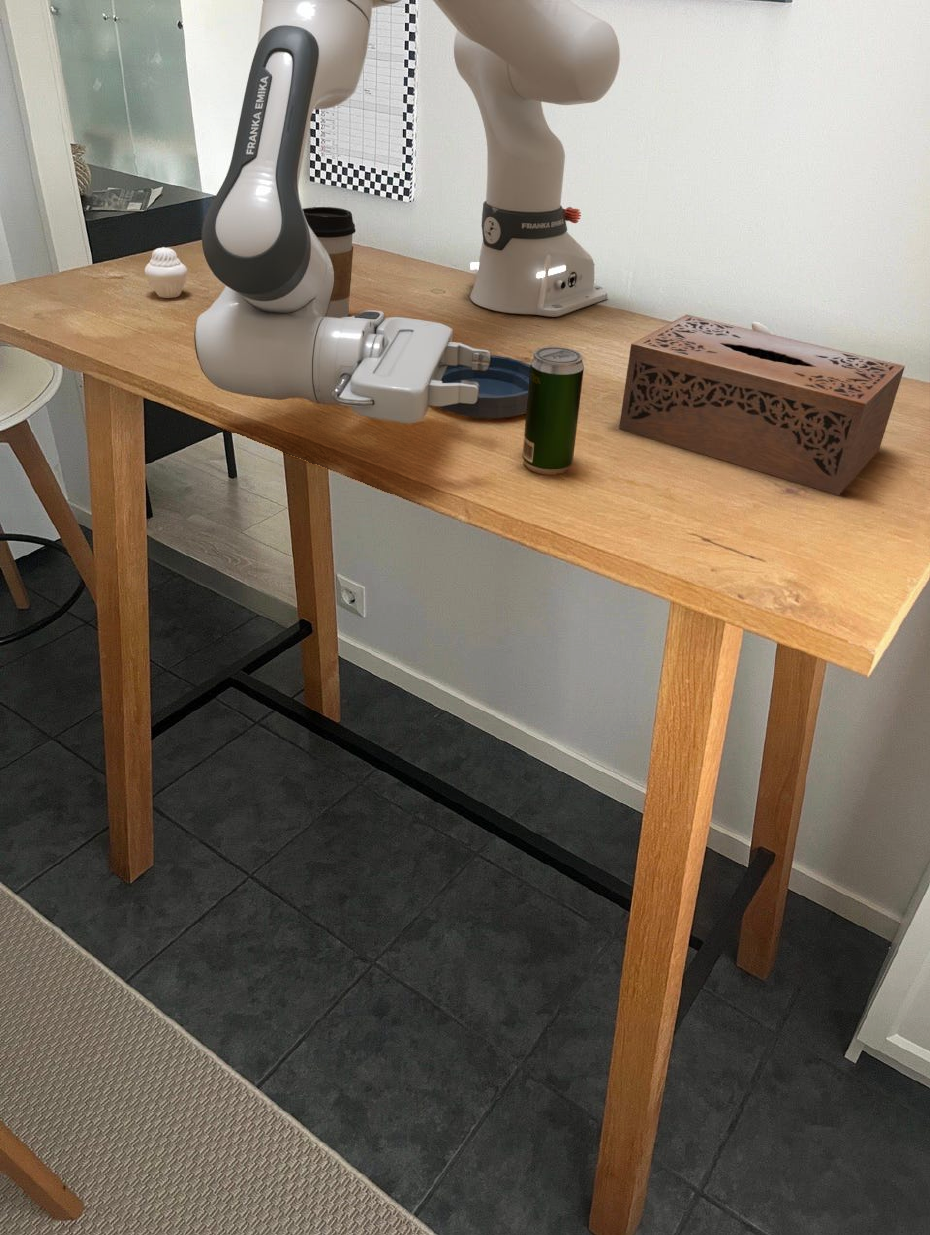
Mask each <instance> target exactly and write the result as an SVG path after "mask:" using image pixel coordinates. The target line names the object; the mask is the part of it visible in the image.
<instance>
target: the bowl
mask: <svg viewBox="0 0 930 1235" xmlns="http://www.w3.org/2000/svg"><path fill="white" fill-rule="evenodd" d="M530 365H531V364H529V363H527V362H524V361H522V360H519V359H515V358H511V357H507V356H499V355H493V354H490V365H489V367H488V369H487V370H485V371H482V370H472V367H469V366H465V365H460V364H458V365H457V366H454V365H448V366H447V368H446V370H445V372H444V375H443V377H442V379H441V381H442V383H461V381H462V380H465V381H470V382H471V381H474V382H477V383H478V384H479V396H478V399H477V401H476V403H474V404H468V403H456V404H451V405H446V406H435V407H436V408H438V409H440V410H442V411H445V412H448V413H451V414H455V415H458V416H462V417H466V418H473V419H484V420H485V419H487V420H489V419H493V420H494V419H504V418H512V417H518V416H521V415H523V414H526V411H527V399H528V388H529V376H530Z"/></svg>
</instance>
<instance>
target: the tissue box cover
mask: <svg viewBox="0 0 930 1235" xmlns="http://www.w3.org/2000/svg"><path fill="white" fill-rule="evenodd" d="M905 368H906V365H902V364H898V363H896V362H895V363H894V362H891V361H886V360H882V359H877V358H873V357H870V356H869V357H868V356H865V355H860V354H856V353H851V352H848V351H843V350H839V349H835V348H832V347H831V348H830V347H827V346H823V345H818V344H814V343H810V342H805V341H801V340H797V339H793V338H788V337H784V336H779V335H776V334H774V335H772V334H767V333H763V332H759V331H755V330H753V329H752V328H747V327H741V326H737V325H733V324H729V323H725V322H720V321H717V320H712V319H708V318H704V317H699V316H695V315H691V314H684V315H683V316H681V317H678V318H677V319H675V320H673V321H672V322H670V323H668V324H665V325H664V326H662V327H660V328H658V329H657V330H654V331H653V332H650V333H649V334H646V335H645V336H643V337H642V338H640V339H638V340H635V341H634V342H632V343H631V344H630V350H629V356H628V364H627V370H626V377H625V384H624V392H623V398H622V406H621V412H620V417H619V426H618V429H619V430H623V431H626V432H629V433H632V434H636V435H639V436H641V437H642V436H643V437H645V438H648V439H653V440H654V441H659V442H662V443H664V444H668V445H672V446H675V447H678V448H682V449H685V450H688V451H692V452H694V453H697V454H700V455H701V454H702V455H704V456H708V457H711V458H715V459H717V460H720V461H723V462H727V463H731V464H734V465H736V466H741V467H744V468H747V469H750V470H754V471H756V472H757V471H758V472H761V473H763V474H766V475H770V476H773V477H777V478H779V479H783V480H787V481H790V482H793V483H796V484H800V485H803V486H806V487H810V488H813V489H816V490H819V491H822V492H826V493H829V494H833V495H836V496H840V495H841V494H842V493H843V492H844V490H845V489H846V488H847V487H848V486H849V485H850V484H851V482H853V481H854V479H855V478H856V477H857V476H858V475H859V474H860V472H862V471H863V469H864V468H865V467H866V466H867V465H868V464H869V463H870V462H871V460H873V458H874V457H875V456H876V455H877V453H879V452H880V449H881V445H882V442H883V439H884V435H885V433H886V429H887V426H888V423H889V419H890V417H891V413H892V409H893V406H894V403H895V400H896V396H897V393H898V390H899V387H900V384H901V380H902V377H903V374H904V371H905Z"/></svg>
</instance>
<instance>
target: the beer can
mask: <svg viewBox="0 0 930 1235" xmlns="http://www.w3.org/2000/svg"><path fill="white" fill-rule="evenodd" d="M583 360H584V356H583V354H582V353H580V351H577V350H575V349H572V348H568V347H563V346H562V347H561V346H547V347H542V348H538V349H536V350H535V351H534V352H533V358H532V359H531V362H530V364H529V365H530V376H529V388H528V399H527V411H526V413H525V423H524V434H523V447H522V456H521V457H522V460H523V462H524V465H525V467H526V468H527V469H528V470H529V471H530V472H534V473H537V474H540V475H546V476H548V475H549V476H554V475H560V474H563V473H566V472H568V470H570V468H571V466H572V464H573V462H574V454H575V446H576V439H577V438H576V437H577V432H578V422H579V412H580V405H581V396H582V389H583V380H584V372H585V365H584V362H583Z"/></svg>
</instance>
